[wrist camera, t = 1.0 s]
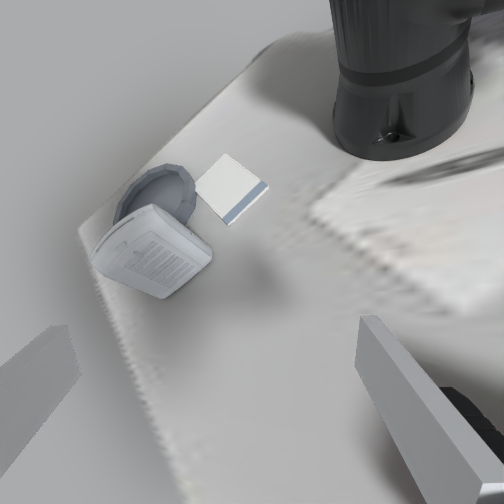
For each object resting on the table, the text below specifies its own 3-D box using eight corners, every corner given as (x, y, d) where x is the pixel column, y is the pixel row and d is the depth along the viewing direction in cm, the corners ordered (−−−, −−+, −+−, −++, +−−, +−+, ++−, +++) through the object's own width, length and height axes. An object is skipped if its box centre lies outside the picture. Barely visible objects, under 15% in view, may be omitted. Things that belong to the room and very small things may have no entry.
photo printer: (206, 238, 39) (144, 188, 29) (218, 258, 37) (155, 210, 27) (154, 282, 40) (76, 248, 30) (162, 305, 38) (80, 275, 28)
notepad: (226, 155, 45) (225, 152, 45) (269, 187, 38) (267, 185, 38) (192, 188, 45) (190, 186, 45) (229, 226, 39) (227, 224, 38)
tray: (179, 157, 51) (172, 150, 49) (210, 207, 42) (203, 200, 40) (116, 210, 52) (107, 204, 51) (133, 269, 43) (123, 264, 42)
